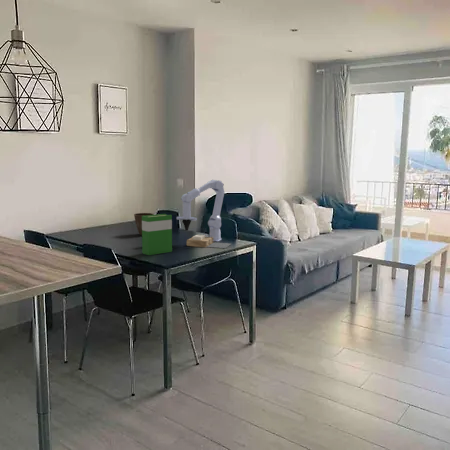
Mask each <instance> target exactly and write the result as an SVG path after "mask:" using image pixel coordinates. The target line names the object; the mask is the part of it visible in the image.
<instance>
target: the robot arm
mask: <svg viewBox="0 0 450 450" xmlns="http://www.w3.org/2000/svg"><path fill="white" fill-rule="evenodd" d="M209 189H212V190H213V191H214V192H215V194H216V196H215V199H214V206H213V210H212V215H211V216H209V219H208V221H207V225H208V227H209V237H213V242H215V243H219V242H220V241H222V239H223V238H222V237H221V234H222V233H221V231H222V230H221V227H222V217H221V211H222V206H223V201H224V197H225V188H224V183H223V182H222V180H217V179H212V180H209V181H207V183H204V184H203V185H202V186H200V187H198V188H192V190H190V191H187V193H184V194H182V196H181V198H180V200H181V202H182V216H176V220H177V221H178V220H179V221H180V220H181V221H182V224H183V227H184V229H185V231H189V229H190V225H191V222H192V221H194V222H197V221H198V217H194V216H192V212H191V211H192V201H193V200H194V199H196V198H198V197H199V196H200V195H201V193H203V192H205V191H207V190H209Z"/></svg>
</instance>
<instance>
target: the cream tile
mask: <svg viewBox="0 0 450 450" xmlns="http://www.w3.org/2000/svg"><path fill="white" fill-rule="evenodd" d="M192 237H193V240H202V239H204V238H205V237H206V234H195V235H193V236H192Z"/></svg>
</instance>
